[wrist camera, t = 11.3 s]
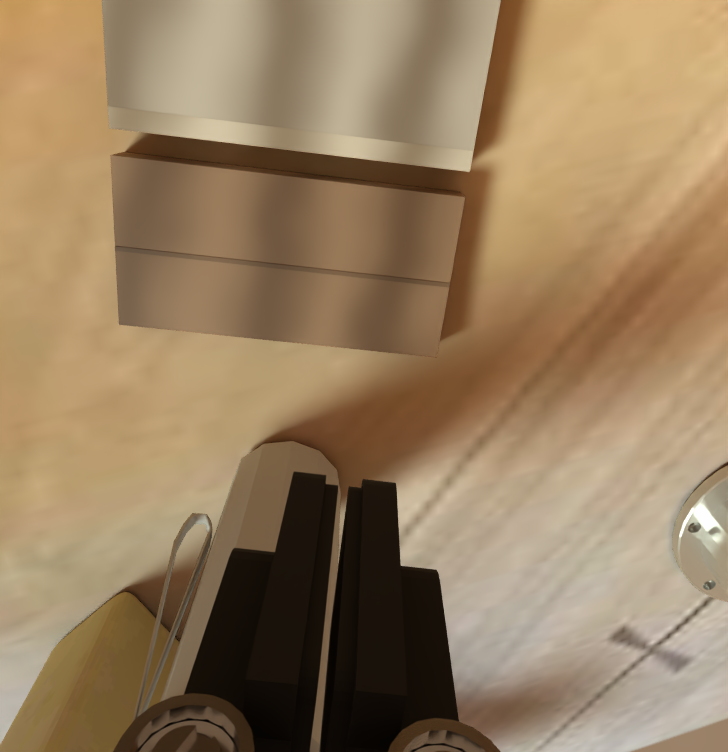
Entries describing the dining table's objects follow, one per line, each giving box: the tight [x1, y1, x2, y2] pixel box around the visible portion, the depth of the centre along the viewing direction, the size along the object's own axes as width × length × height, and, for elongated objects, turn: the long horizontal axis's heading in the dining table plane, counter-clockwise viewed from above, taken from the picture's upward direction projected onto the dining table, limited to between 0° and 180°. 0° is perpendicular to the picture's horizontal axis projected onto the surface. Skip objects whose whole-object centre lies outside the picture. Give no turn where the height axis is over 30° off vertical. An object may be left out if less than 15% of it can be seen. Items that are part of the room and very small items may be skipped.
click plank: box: [102, 0, 501, 172], centre depth 30 cm, size 18×10×2 cm, turn 83°
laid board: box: [111, 152, 465, 357], centre depth 34 cm, size 18×9×2 cm, turn 83°
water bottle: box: [132, 441, 341, 752], centre depth 30 cm, size 9×8×25 cm
